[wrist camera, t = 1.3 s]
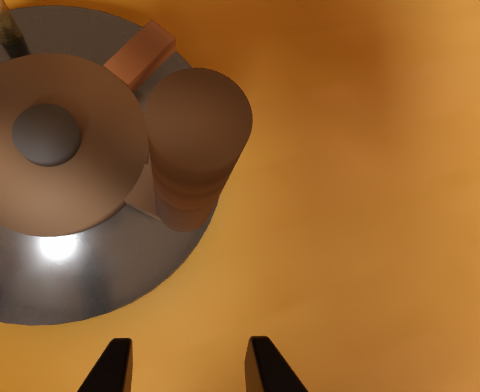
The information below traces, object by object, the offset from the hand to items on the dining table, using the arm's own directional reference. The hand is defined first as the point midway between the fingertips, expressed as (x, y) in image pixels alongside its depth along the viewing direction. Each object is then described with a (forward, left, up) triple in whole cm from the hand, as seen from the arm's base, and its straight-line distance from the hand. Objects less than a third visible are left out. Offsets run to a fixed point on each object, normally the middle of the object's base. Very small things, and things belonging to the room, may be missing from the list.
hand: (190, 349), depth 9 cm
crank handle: (+8, +7, -11) cm, 15 cm away
